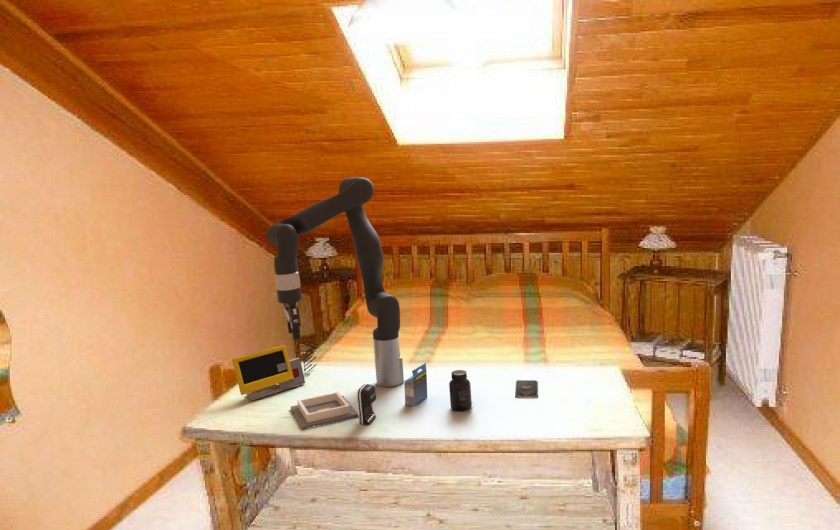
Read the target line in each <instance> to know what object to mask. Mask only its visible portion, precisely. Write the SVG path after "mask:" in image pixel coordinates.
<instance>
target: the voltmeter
mask: <svg viewBox="0 0 840 530" xmlns="http://www.w3.org/2000/svg"><path fill="white" fill-rule="evenodd" d="M316 347H317V344H315V345H313V346H312V347H311V348H310V349H308V350H307V351H306V352H304V353H302V357H303V366H302V362H301V358H300V357H296V358H292V359H289V362H290V365H291V369H292V373H293V377H294V379H292V380H289V381H286V382H282V383H279V384H277V385H279V388H281V389H282V391H281V392H284V391H287V390H289V389H292V388H295V387H299V386H302V385H304V384H306V381H305V380H306V379H305V375H306V377H308V376H309V375H311V373H310V372H311V370H313V369H314V368H315V367H316V366H317V364H318V363H315V365H313V364H312V363H313V361H314V360H315V359H316V358H317V356H315V357H313V355H312V354H311V351H312V350H313V349H314V348H316ZM308 352H309V353H308ZM306 358H307V359H306ZM311 358H312V359H311ZM305 359H306V360H305ZM310 359H311V360H310ZM308 361H309V362H308ZM306 362H307V363H306ZM305 363H306V364H305ZM277 368H278V372H281V371H283V370H286V369H287V363H286V362H285V363H282V364H278V365H277ZM303 368H304V369H303ZM309 368H310V369H309ZM306 370H307V371H306ZM283 390H284V391H283Z"/></svg>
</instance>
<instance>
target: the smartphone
mask: <svg viewBox="0 0 840 530" xmlns="http://www.w3.org/2000/svg"><path fill="white" fill-rule="evenodd" d="M514 391H515V392H514V397H515V399H538V398H539V382H538V380H535V379H534V380H533V379H531V380H526V379H525V380H524V379H522V380H519V379H518V380H516V381H515V390H514Z"/></svg>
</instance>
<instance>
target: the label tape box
mask: <svg viewBox="0 0 840 530" xmlns="http://www.w3.org/2000/svg"><path fill="white" fill-rule="evenodd" d="M420 370H421V371H420ZM411 373H412V375H411V376H409V378H407V379H404V384H403V385H404V404H405V406H409V407H410V406H411V407H416V406H417V405H418V404H420V403H421V402H422V401H423V400H425V399H426V398H428V376H427V374H428V373H427V363H426V362H424V363H423V364H421V365H419V366H418V367H416V368H414V369H413V370H411Z"/></svg>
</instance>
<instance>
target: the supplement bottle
mask: <svg viewBox="0 0 840 530" xmlns="http://www.w3.org/2000/svg"><path fill="white" fill-rule="evenodd" d="M450 375H451V380H450V381H449V383H448V387H449V401H450V403H449V404H450V408H451V410H452V411H454V412H461V413H462V412H463V413H464V412H467V411H470V409H472V406H473V405H472V404H473V402H472V388H471V387H472V386H471V382H470V380H469V379H468V374H467V370H463V369H456V370H453V371H451V374H450Z"/></svg>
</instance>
